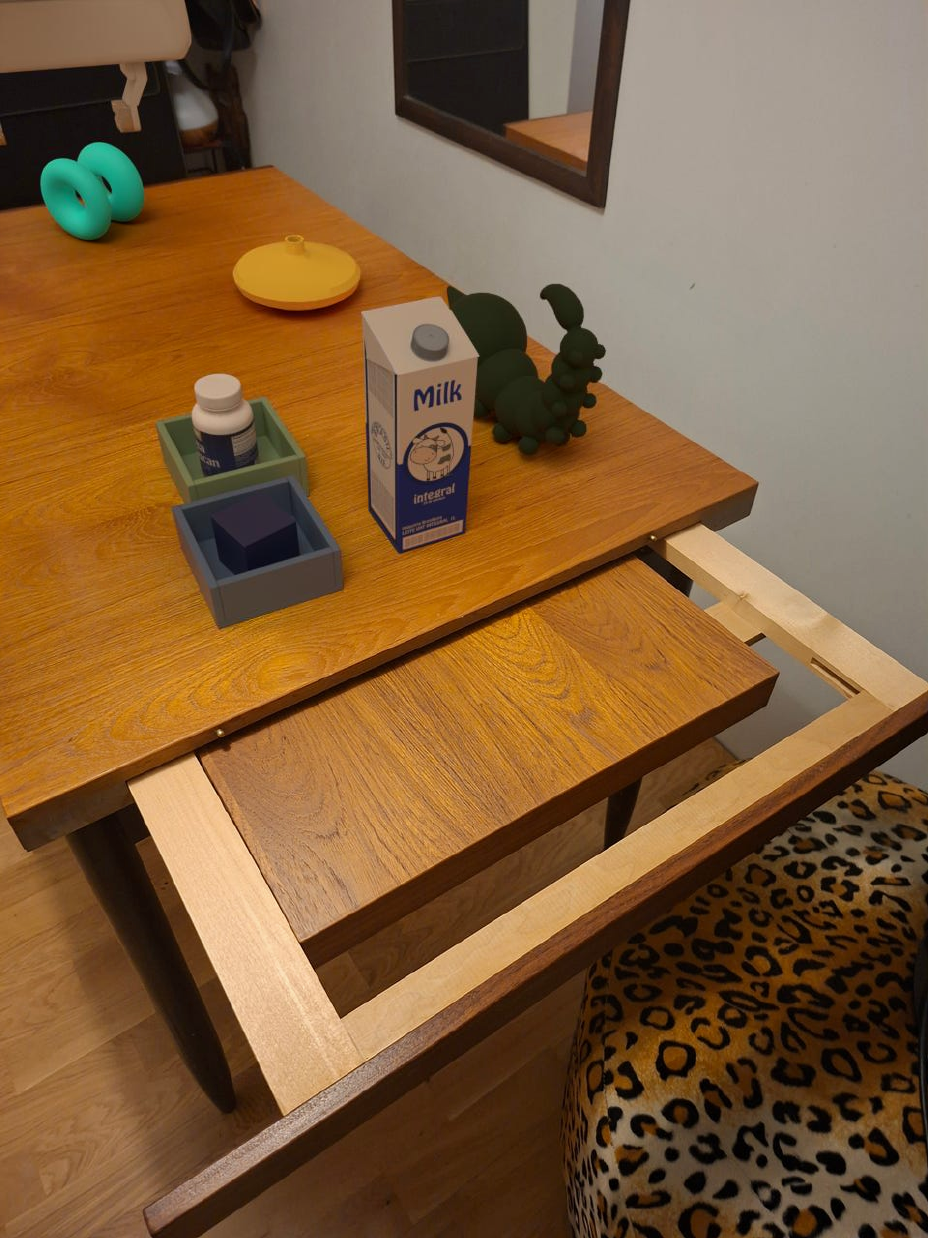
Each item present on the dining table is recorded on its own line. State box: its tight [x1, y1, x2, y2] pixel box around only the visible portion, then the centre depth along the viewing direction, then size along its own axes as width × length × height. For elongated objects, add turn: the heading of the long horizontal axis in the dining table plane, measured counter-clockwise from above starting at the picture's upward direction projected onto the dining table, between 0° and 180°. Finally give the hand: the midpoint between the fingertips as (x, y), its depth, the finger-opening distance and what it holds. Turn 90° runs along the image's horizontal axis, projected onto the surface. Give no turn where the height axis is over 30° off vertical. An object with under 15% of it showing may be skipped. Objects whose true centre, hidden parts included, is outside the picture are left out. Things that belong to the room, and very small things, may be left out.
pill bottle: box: [191, 373, 260, 478], centre depth 79 cm, size 5×5×10 cm
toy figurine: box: [446, 283, 607, 457], centre depth 87 cm, size 9×19×25 cm
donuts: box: [40, 141, 146, 241], centre depth 116 cm, size 10×10×10 cm
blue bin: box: [170, 475, 344, 629], centre depth 74 cm, size 11×11×5 cm
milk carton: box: [360, 295, 479, 554], centre depth 73 cm, size 7×7×20 cm
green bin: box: [154, 396, 311, 504], centre depth 82 cm, size 11×11×5 cm
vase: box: [231, 234, 362, 312], centre depth 107 cm, size 16×16×7 cm
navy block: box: [210, 492, 300, 575], centre depth 73 cm, size 5×5×5 cm
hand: (63, 136), depth 64 cm, fingers open, 8 cm apart
